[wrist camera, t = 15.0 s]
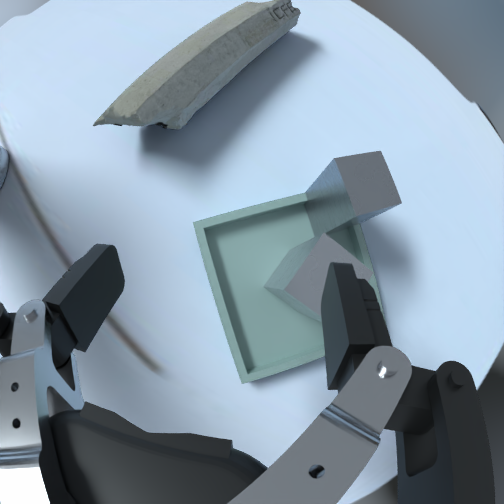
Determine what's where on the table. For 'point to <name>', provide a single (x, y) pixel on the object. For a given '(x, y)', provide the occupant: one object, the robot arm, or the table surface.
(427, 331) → the table surface
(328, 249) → the post
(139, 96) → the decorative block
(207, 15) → the table surface
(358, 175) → the post
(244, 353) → the tray
